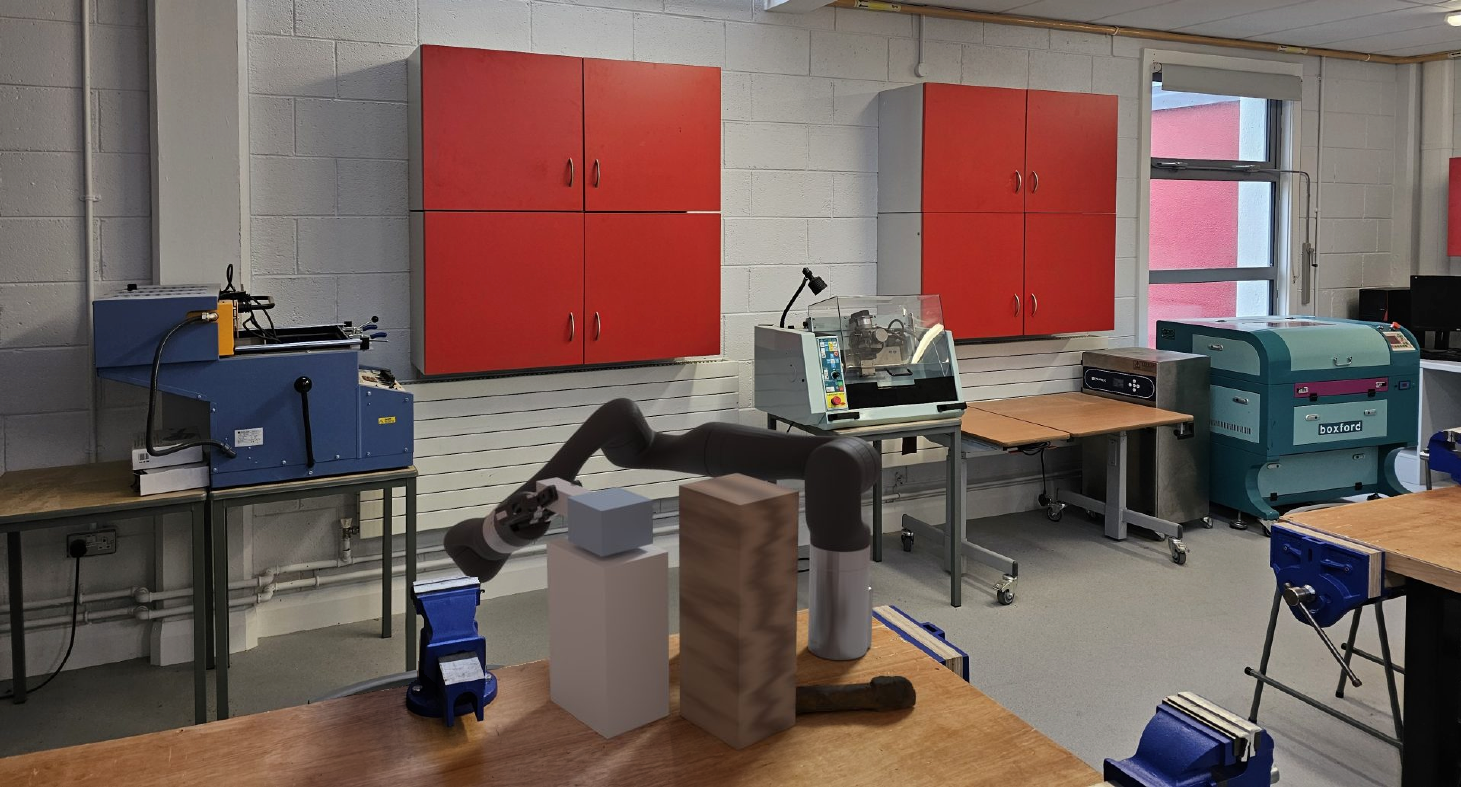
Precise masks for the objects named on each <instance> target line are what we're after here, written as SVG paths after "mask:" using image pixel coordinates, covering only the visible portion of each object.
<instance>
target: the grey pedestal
mask: <svg viewBox="0 0 1461 787" xmlns="http://www.w3.org/2000/svg"><path fill="white" fill-rule="evenodd" d="M545 545H546V572H547V573H546V576H547V577H546V579H547V581H546V582H547V618H548V647H549V648H548V650H549V652H548V653H549V656H548V658H549V682H550V683H549V684H550V686H549V688H550V689H549V690H550V692H549V693H550V701H551V702H552V703H554V704H555V705H557V706H558V707H559V708H561V709H563V710H564V711H565V712H567V713H568V714H570V715H571V716H573V717H574V718H576V719H577V720H579V721H580V722H582V723H583V724H585V725H586V726H587V727H589V728H590V729H592V730H594V731H595V732H596V733H598V734H599V735H600V736H602V737H604V738H605V739H607V740H609V739H612V738H614V737H616V736H620V735H623V734H624V733H627V732H629V731H631V730H635V729H637V728H640V727H642V726H644V725H645V726H646V725H647V724H651V723H652V722H654V721H657V720H660V719H663V718H665V717H667V716H670V630H669V629H670V620H669V618H670V615H669V613H670V611H669V609H670V608H669V606H670V604H669V602H670V601H669V600H670V599H669V598H670V596H669V590H670V589H669V584H670V582H669V579H670V578H669V551H668V550H665V549H663V548H661V547H658V546H655V545H654V544H650V545H646V546H642V547H638V548H634V549H630V550H626V551H622V552H619V553H615V554H611V555H607V556H603V557H602V556H599V555H597V554H595V553H593V552H591V551H589V550H587V549H584V548H582V547H580V546H578V545H576V544H574V543H572V542H569V541H568V535H567V536H564V537H559V538H554V539H551V540H547V541H546V544H545Z"/></svg>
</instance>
